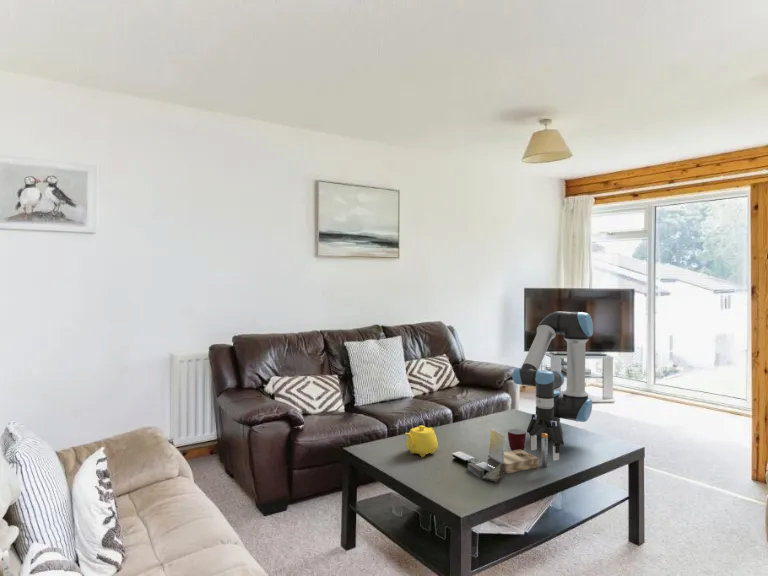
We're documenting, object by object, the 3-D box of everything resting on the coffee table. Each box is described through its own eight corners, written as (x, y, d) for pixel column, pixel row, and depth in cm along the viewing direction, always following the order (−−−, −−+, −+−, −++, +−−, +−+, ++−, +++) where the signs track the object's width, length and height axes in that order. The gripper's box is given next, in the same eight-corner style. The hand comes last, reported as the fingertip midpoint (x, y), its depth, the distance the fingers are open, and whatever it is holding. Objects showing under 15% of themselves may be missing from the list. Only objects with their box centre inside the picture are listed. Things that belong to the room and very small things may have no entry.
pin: (544, 464, 220) (544, 432, 220) (548, 466, 218) (549, 434, 217) (540, 465, 219) (540, 433, 219) (544, 467, 217) (544, 435, 216)
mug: (532, 456, 230) (532, 434, 230) (517, 458, 227) (517, 436, 227) (518, 448, 240) (518, 428, 239) (504, 450, 237) (504, 429, 237)
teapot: (444, 452, 236) (444, 425, 236) (416, 463, 222) (416, 434, 222) (423, 444, 246) (423, 419, 246) (394, 455, 232) (394, 428, 232)
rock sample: (480, 464, 210) (494, 454, 206) (493, 475, 211) (508, 465, 206) (477, 483, 202) (491, 474, 197) (491, 494, 202) (506, 485, 198)
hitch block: (519, 457, 228) (519, 449, 228) (538, 466, 217) (538, 457, 217) (465, 468, 215) (465, 459, 215) (482, 478, 205) (482, 469, 204)
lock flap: (489, 457, 219) (491, 428, 220) (504, 465, 210) (506, 435, 211) (487, 457, 219) (489, 428, 219) (502, 465, 210) (504, 435, 210)
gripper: (518, 401, 227) (518, 447, 228) (559, 414, 205) (559, 466, 205) (531, 399, 231) (531, 444, 231) (572, 412, 208) (572, 463, 209)
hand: (544, 454), depth 218 cm, fingers open, 13 cm apart
